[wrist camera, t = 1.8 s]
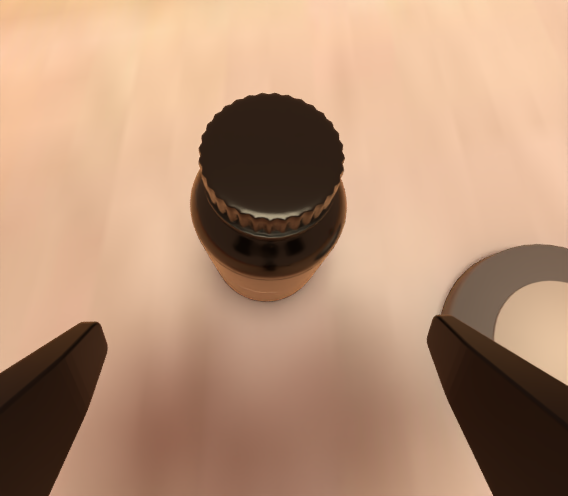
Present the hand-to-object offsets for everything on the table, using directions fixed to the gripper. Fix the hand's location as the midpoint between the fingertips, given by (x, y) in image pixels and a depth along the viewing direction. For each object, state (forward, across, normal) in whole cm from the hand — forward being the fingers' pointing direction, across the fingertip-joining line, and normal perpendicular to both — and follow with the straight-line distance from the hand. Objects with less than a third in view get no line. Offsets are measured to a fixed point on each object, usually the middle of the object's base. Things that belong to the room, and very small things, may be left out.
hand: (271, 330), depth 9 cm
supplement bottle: (+12, 0, +5) cm, 13 cm away
